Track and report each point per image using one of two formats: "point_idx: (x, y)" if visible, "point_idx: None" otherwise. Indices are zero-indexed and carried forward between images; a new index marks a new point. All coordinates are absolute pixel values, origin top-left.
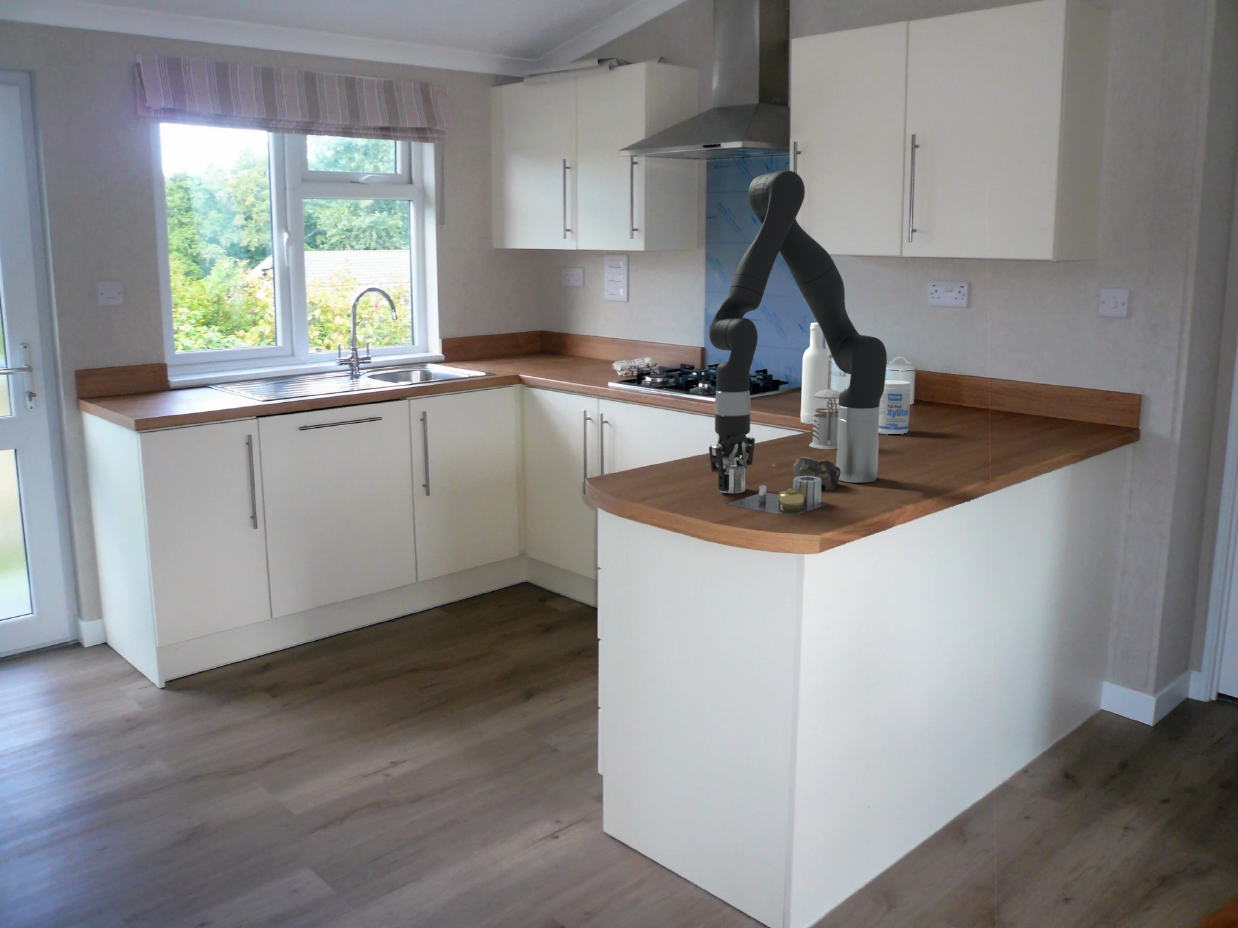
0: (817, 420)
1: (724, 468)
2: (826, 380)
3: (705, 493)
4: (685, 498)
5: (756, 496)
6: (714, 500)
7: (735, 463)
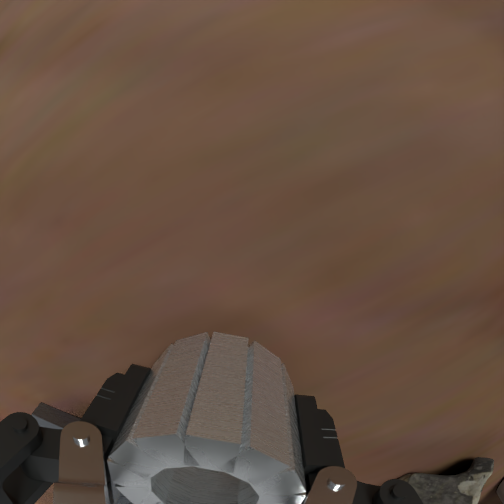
0: None
1: (148, 467)
2: None
3: (212, 224)
4: (59, 188)
5: None
6: (108, 331)
7: (306, 499)
